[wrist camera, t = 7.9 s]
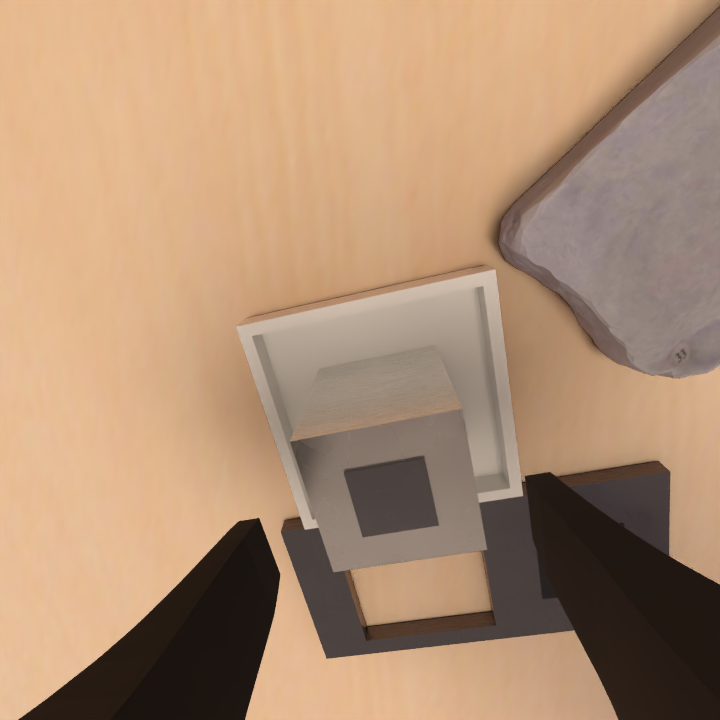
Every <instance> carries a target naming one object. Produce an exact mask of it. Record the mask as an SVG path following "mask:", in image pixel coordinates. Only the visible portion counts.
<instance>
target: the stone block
mask: <svg viewBox="0 0 720 720" xmlns="http://www.w3.org/2000/svg"><path fill="white" fill-rule="evenodd" d="M498 244H499V247H500V249H501V251H502V254H503V256H504V259H505V260H506V261H508V262H509V263H510V264H512V265H513V266H514V267H515V268H517V269H519V270H521V271H524V272H525V273H527V274H528V275H530V276H532V277H534V278H536V279H537V280H539V281H540V282H541V283H542V284H543V285H545V286H546V287H548V288H549V289H551V290H552V291H554V292H557V293H559V294H560V295H561V296H562V297H563V298H564V299H565V300H566V301H567V302H568V303H569V305H570V307H571V309H572V311H573V312H574V314H575V316H576V319H577V321H578V323H579V325H580V326H581V327H582V328H583V329H584V330H585V331H586V332H587V333H588V334H589V336H590V337H591V338H592V339H593V341H594V343H595V345H596V346H597V347H598V348H599V349H600V351H601V352H602V353H603V354H605V355H606V356H607V357H608V358H610V359H612V360H613V361H615V362H616V363H618V364H620V365H624V366H627V367H629V368H632V369H634V370H636V371H639V372H642V373H645V374H649V375H652V376H654V375H659V376H666V377H671V378H679V379H680V378H683V377H687V376H691V375H698V374H704V373H708V372H710V371H712V370H713V369H715V368H717V367H718V366H719V365H720V7H719V8H718V9H717V10H716V11H715V12H714V13H713V14H712V15H711V16H710V17H709V18H708V19H707V20H706V21H705V22H704V23H703V24H702V25H701V26H700V27H699V28H697V29H696V30H695V31H694V32H693V33H692V34H691V35H690V36H689V37H688V38H687V39H686V40H685V41H684V42H682V43H681V44H680V45H679V46H678V47H677V48H676V49H675V50H674V51H673V52H672V53H671V54H670V55H669V56H668V57H667V58H666V59H665V60H664V61H663V62H662V63H661V64H660V65H659V66H658V67H657V68H656V69H655V70H654V71H653V72H652V73H651V74H650V75H649V76H647V77H646V78H645V79H644V80H643V81H642V82H641V83H640V84H639V85H638V86H637V87H635V88H634V89H633V90H632V91H631V92H630V93H629V94H628V95H627V96H626V97H625V98H624V99H623V100H622V101H621V102H620V103H619V104H618V105H617V106H616V107H615V108H614V109H613V110H612V111H611V112H609V113H608V114H607V115H606V116H605V117H604V118H603V119H602V120H601V121H600V122H599V123H598V124H597V125H596V126H595V127H594V128H593V129H592V130H591V131H590V132H589V133H588V134H587V135H586V136H585V137H584V138H583V139H582V140H581V141H579V142H578V143H577V144H576V145H575V146H574V147H573V148H572V149H571V151H570V152H569V153H567V154H566V155H565V156H564V157H563V158H562V159H561V160H560V161H559V162H558V163H557V164H556V165H555V166H553V167H552V168H551V169H550V170H549V171H548V172H547V173H546V174H545V175H544V176H543V177H542V178H541V179H540V180H539V181H538V182H537V183H536V184H534V185H533V186H532V187H531V188H530V189H529V190H528V191H527V192H526V193H525V194H524V195H523V196H522V197H521V198H520V199H518V200H517V201H516V202H515V203H514V204H513V205H512V206H511V208H510V209H509V210H508V212H507V213H506V215H505V216H504V218H503V219H502V221H501V229H500V237H499V241H498Z"/></svg>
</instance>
